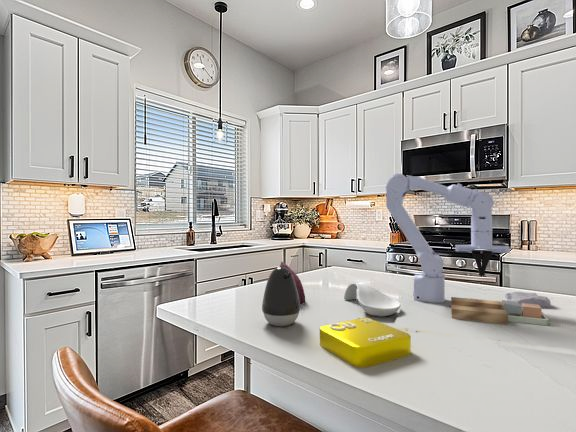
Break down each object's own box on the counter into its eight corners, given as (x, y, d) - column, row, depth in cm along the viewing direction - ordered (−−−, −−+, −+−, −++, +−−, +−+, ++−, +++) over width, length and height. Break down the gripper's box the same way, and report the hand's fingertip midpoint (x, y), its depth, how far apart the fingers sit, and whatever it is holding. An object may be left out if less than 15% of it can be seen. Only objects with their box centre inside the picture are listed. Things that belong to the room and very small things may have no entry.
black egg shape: (272, 332, 86) (271, 271, 86) (256, 321, 96) (256, 265, 95) (307, 326, 91) (307, 268, 91) (289, 315, 100) (288, 263, 100)
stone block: (518, 316, 104) (555, 311, 103) (515, 300, 105) (551, 295, 103) (502, 307, 116) (535, 302, 114) (499, 293, 116) (531, 288, 115)
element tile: (359, 371, 66) (359, 346, 66) (316, 345, 79) (315, 324, 79) (415, 355, 73) (415, 332, 73) (366, 333, 86) (366, 314, 86)
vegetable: (271, 314, 113) (258, 270, 112) (283, 302, 122) (271, 261, 122) (300, 309, 109) (287, 263, 108) (311, 297, 118) (298, 255, 117)
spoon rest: (409, 318, 98) (409, 292, 98) (373, 322, 94) (373, 296, 94) (364, 298, 121) (364, 277, 121) (333, 301, 117) (333, 280, 117)
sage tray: (507, 324, 91) (507, 315, 91) (503, 316, 99) (503, 308, 99) (549, 329, 87) (549, 320, 87) (542, 320, 95) (542, 311, 95)
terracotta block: (522, 321, 92) (522, 306, 92) (521, 317, 95) (521, 302, 95) (541, 323, 90) (541, 308, 90) (539, 319, 93) (539, 304, 93)
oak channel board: (451, 321, 94) (451, 308, 94) (451, 308, 107) (451, 297, 107) (507, 327, 89) (508, 314, 89) (500, 313, 101) (500, 301, 101)
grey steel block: (502, 317, 94) (504, 303, 93) (499, 313, 97) (501, 299, 97) (519, 321, 92) (521, 306, 92) (516, 317, 96) (518, 302, 95)
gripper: (455, 231, 107) (455, 275, 107) (511, 232, 101) (511, 279, 101) (455, 230, 113) (455, 272, 113) (507, 231, 107) (507, 275, 107)
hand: (481, 275), depth 108 cm, fingers closed
